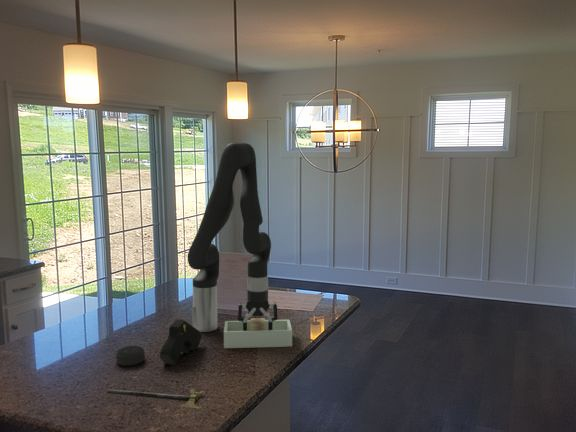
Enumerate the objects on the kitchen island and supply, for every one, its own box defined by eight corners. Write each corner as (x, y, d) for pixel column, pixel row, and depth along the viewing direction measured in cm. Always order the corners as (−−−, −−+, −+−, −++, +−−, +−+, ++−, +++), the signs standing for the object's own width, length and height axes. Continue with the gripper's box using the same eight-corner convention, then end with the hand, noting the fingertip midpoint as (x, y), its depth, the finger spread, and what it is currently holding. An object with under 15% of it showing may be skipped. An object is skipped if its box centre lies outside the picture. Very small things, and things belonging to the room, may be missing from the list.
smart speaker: (112, 360, 168) (111, 349, 168) (138, 354, 174) (137, 342, 173) (122, 369, 161) (122, 357, 161) (149, 362, 167) (148, 350, 166)
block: (251, 341, 183) (251, 322, 182) (250, 336, 188) (250, 318, 187) (265, 341, 184) (265, 322, 183) (264, 336, 188) (264, 318, 188)
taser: (156, 360, 162) (171, 314, 169) (181, 373, 177) (194, 331, 183) (167, 361, 161) (182, 316, 167) (192, 375, 175) (204, 332, 182)
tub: (223, 348, 179) (223, 332, 178) (225, 336, 191) (225, 321, 190) (292, 346, 181) (292, 330, 180) (289, 334, 193) (289, 319, 192)
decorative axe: (104, 390, 145) (127, 372, 154) (105, 395, 146) (127, 377, 155) (194, 411, 134) (213, 391, 143) (195, 417, 135) (214, 396, 144)
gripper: (237, 291, 179) (237, 335, 181) (278, 290, 180) (278, 334, 182) (237, 285, 187) (238, 328, 189) (276, 285, 188) (276, 327, 190)
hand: (257, 331), depth 185 cm, fingers open, 8 cm apart
